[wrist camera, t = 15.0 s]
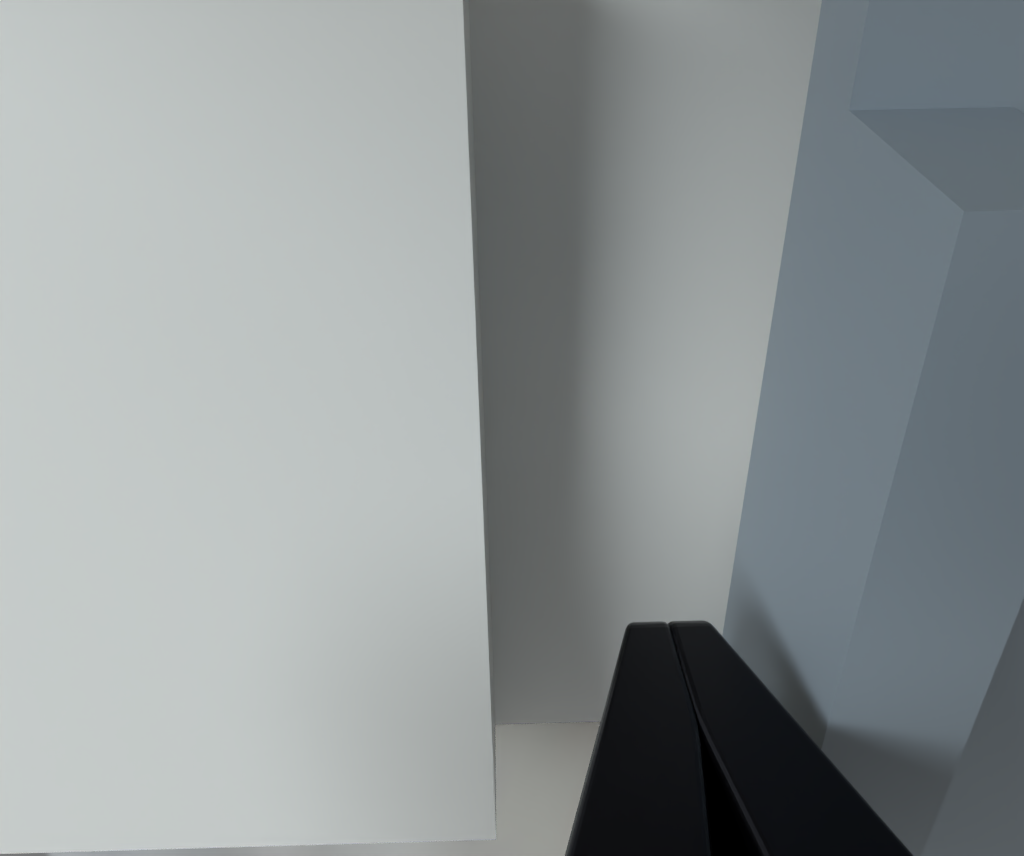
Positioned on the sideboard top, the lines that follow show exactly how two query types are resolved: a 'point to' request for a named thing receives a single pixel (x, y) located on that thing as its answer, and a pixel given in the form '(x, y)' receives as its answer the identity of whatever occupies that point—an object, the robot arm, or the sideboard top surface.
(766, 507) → the cabinet
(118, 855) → the sideboard top surface
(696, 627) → the robot arm
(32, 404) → the housing
